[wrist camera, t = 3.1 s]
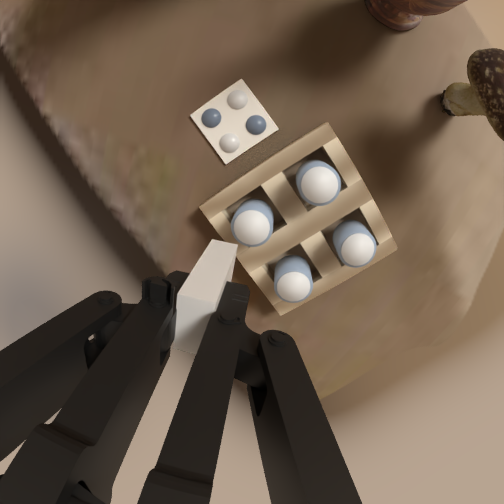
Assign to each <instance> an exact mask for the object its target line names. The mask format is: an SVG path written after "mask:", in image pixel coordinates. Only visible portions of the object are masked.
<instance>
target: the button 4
mask: <svg viewBox="0 0 504 504" xmlns="http://www.w3.org/2000/svg"><path fill="white" fill-rule="evenodd" d="M333 244H334V246H335V248H336V251H337V253H338V255H339V257H340V259H341V261H342V262H343V263H344V264H345V265H347V266H349V267H353V268H358V267H362V266H365V265H367V264H368V263H369V262H370V261H371V260H372V259H373V257H374V256H375V253H376V241H375V239H374V237H373V236H372V235H371V234H370V232H369V231H368V230H367V229H366V227H365V226H364V225H363V224H362V223H361V222H359V221H356V220H346V221H343V222H342V223H340V224H339V225H338V226H337V227H336V228H335V230H334V233H333Z"/></svg>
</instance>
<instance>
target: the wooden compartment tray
mask: <svg viewBox="0 0 504 504" xmlns="http://www.w3.org/2000/svg"><path fill="white" fill-rule="evenodd" d="M309 160H321V161H323V162H325V163H327V164H328V165H330V166H331V167H332V168H334V169H335V170H336V172H337V173H338V175H339V177H340V181H341V189H340V192H339V194H338V196H337V198H336V199H335V200H334V201H333V202H331V203H329V204H327V205H324V206H315V205H312V204H309V203H308V202H306V201H305V200H304V199H303V198H302V197H301V195H300V193H299V190H298V187H297V184H296V173H297V171H298V169H299V167H300V166H301V165H302V164H303V163H305V162H306V161H309ZM248 199H260V200H263V201H265V202H266V203H267V204H268V205H269V206H270V207H271V209H272V211H273V215H274V220H273V232H272V235H271V237H270V238H269V240H268V241H267V242H266V243H264V244H262V245H260V246H257V247H248V246H245V245H242V244H241V243H239V242H238V241H237V240H236V239H235V238H234V236H233V234H232V231H231V222H232V219H233V217H234V215H235V213H236V211H237V209H238V207H239V206H240V204H241V203H243V202H244V201H246V200H248ZM199 208H200V209H201V211H202V212H203V213H204V215H205V216H206V217H207V219H208V220H209V221H210V223H211V224H212V225H213V227H214V228H215V229H216V231H217V232H218V233H219V235H220V236H221V237H222V239H223V240H224V241H225V242H228V243H233V244H237V245H238V247H237V253H236V257H237V259H238V260H239V261H240V263H241V264H242V265H243V267H244V268H245V269H246V271H247V272H248V273H249V275H250V276H251V277H252V279H253V280H254V281H255V283H256V284H257V285H258V287H259V288H260V289H261V291H262V292H263V293H264V295H265V296H266V297H267V298H268V300H269V301H270V302H271V304H272V305H273V306H274V308H275V309H276V310H277V312H278V313H279V314H280V315H283V314H285V313H287V312H289V311H290V310H292V309H294V308H296V307H298V306H300V305H302V304H304V303H305V302H307V301H309V300H311V299H313V298H315V297H317V296H318V295H320V294H322V293H324V292H326V291H327V290H329V289H331V288H333V287H335V286H336V285H338V284H340V283H342V282H343V281H345V280H347V279H349V278H350V277H352V276H354V275H356V274H357V273H359V272H361V271H362V270H364V269H366V268H367V267H369V266H371V265H372V264H374V263H376V262H378V261H379V260H381V259H382V258H384V257H386V256H387V255H389V254H391V253H392V252H394V251H396V250H397V249H398V248H397V246H396V244H395V241H394V239H393V237H392V235H391V233H390V231H389V229H388V227H387V225H386V223H385V221H384V219H383V217H382V215H381V213H380V211H379V209H378V207H377V205H376V203H375V202H374V200H373V198H372V196H371V194H370V192H369V190H368V189H367V187H366V185H365V183H364V181H363V180H362V178H361V176H360V174H359V173H358V171H357V169H356V167H355V166H354V164H353V162H352V161H351V159H350V157H349V155H348V154H347V152H346V151H345V149H344V147H343V146H342V144H341V142H340V141H339V139H338V138H337V136H336V134H335V133H334V131H333V130H332V128H331V127H330V125H329V124H328V122H327V123H323V124H321V125H319V126H318V127H316V128H314V129H313V130H311V131H310V132H308V133H306V134H305V135H303V136H301V137H300V138H298V139H297V140H295V141H293V142H292V143H290V144H289V145H287V146H286V147H284V148H282V149H281V150H279V151H278V152H276V153H275V154H273V155H272V156H270V157H269V158H267V159H265V160H264V161H262V162H261V163H259V164H258V165H256V166H255V167H253V168H252V169H250V170H249V171H247V172H246V173H244V174H243V175H241V176H240V177H239V178H237V179H236V180H234V181H233V182H231V183H230V184H228V185H227V186H225V187H224V188H223V189H221V190H220V191H218V192H217V193H215V194H214V195H213V196H211V197H210V198H208V199H207V200H206V201H204V202H203V203H202V204H201V205H200V206H199ZM346 220H356V221H359V222H361V223H362V224H363V225H364V226H365V227H366V229H367V230H368V231H369V232H370V234H371V235H372V236H373V237H374V239H375V241H376V253H375V256H374V257H373V259H372V260H371V261H370V262H369V263H368V264H367V265H365V266H362V267H358V268H353V267H349V266H347V265H345V264H344V263H343V262H342V261H341V259H340V257H339V255H338V253H337V251H336V248H335V246H334V244H333V233H334V230H335V228H336V227H337V226H338V225H339V224H340V223H342V222H343V221H346ZM288 255H298V256H301V257H302V258H304V259H305V260H306V261H307V262H308V264H309V266H310V271H311V276H312V281H313V289H312V292H311V294H310V295H309V296H308V297H307V298H306V299H305V300H303V301H301V302H297V303H289V302H285V301H283V300H282V299H280V298H279V297H278V296H277V294H276V293H275V290H274V275H275V266H276V264H277V263H278V261H279V260H280V259H281V258H283V257H285V256H288Z"/></svg>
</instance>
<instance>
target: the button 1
mask: <svg viewBox="0 0 504 504" xmlns="http://www.w3.org/2000/svg"><path fill="white" fill-rule="evenodd" d="M273 220H274V215H273V211H272V209H271V207H270V206H269V205H268V204H267V203H266V202H265V201H263V200H260V199H248V200H246V201H244V202H243V203H241V204H240V206H239V207H238V209H237V211H236V213H235V215H234V217H233V219H232V222H231V231H232V234H233V236H234V238H235V239H236V240H237V241H238V242H239V243H241V244H242V245H245V246H248V247H257V246H260V245H262V244H264V243H266V242H267V241H268V240H269V238H270V237H271V235H272V232H273Z"/></svg>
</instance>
